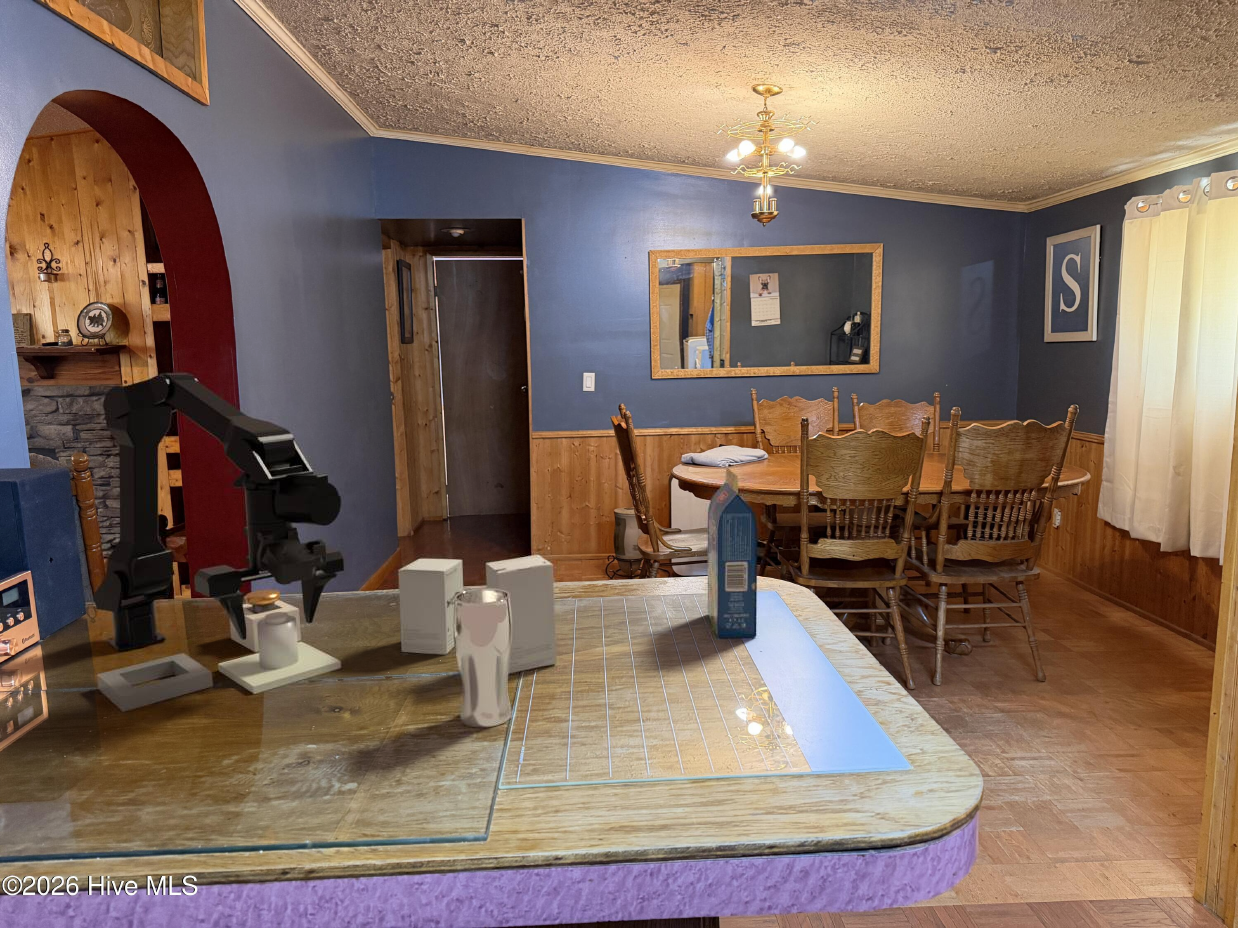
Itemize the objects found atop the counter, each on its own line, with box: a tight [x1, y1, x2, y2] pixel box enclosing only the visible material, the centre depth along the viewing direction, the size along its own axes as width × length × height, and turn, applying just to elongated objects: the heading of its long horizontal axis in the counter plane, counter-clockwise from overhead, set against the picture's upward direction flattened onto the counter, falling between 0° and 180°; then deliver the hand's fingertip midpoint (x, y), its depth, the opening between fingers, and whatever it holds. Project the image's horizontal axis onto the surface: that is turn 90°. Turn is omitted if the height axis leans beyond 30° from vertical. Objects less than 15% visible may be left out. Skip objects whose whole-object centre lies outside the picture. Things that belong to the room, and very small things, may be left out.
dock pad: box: [217, 641, 342, 695], centre depth 114 cm, size 12×12×1 cm
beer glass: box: [453, 587, 513, 729], centre depth 97 cm, size 7×7×15 cm
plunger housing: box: [229, 599, 302, 653], centre depth 126 cm, size 9×7×5 cm
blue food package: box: [707, 465, 758, 639], centre depth 128 cm, size 6×12×25 cm, turn 1°
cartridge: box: [257, 612, 298, 669], centre depth 113 cm, size 5×5×7 cm
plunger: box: [245, 589, 281, 614], centre depth 126 cm, size 5×5×6 cm
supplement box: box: [397, 558, 464, 655], centre depth 122 cm, size 7×7×13 cm
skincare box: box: [485, 554, 558, 675], centre depth 113 cm, size 8×6×15 cm
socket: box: [96, 652, 214, 712], centre depth 108 cm, size 11×11×2 cm
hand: (277, 630), depth 113 cm, fingers open, 9 cm apart
